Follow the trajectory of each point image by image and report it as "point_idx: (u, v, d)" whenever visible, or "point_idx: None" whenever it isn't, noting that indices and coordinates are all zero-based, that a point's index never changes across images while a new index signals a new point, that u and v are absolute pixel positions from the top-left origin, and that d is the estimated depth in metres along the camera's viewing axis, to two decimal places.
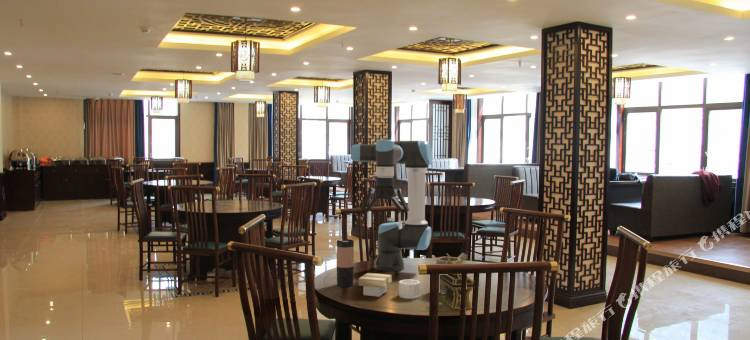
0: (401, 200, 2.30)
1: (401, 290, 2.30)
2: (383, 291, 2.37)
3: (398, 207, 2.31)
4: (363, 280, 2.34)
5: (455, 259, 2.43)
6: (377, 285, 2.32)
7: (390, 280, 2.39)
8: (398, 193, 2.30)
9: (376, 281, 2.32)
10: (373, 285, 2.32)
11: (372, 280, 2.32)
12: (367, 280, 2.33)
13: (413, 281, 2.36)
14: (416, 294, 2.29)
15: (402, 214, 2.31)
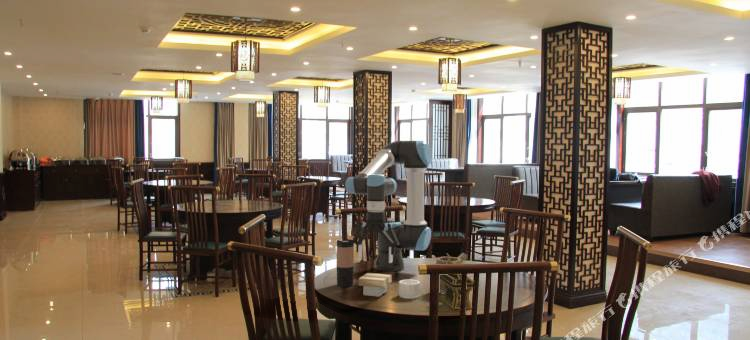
0: (391, 234, 2.33)
1: (401, 290, 2.30)
2: (383, 291, 2.37)
3: (388, 241, 2.34)
4: (363, 280, 2.34)
5: (455, 259, 2.43)
6: (377, 285, 2.32)
7: (390, 280, 2.39)
8: (388, 227, 2.33)
9: (376, 281, 2.32)
10: (373, 285, 2.32)
11: (372, 280, 2.32)
12: (367, 280, 2.33)
13: (413, 281, 2.36)
14: (416, 294, 2.29)
15: (392, 248, 2.34)
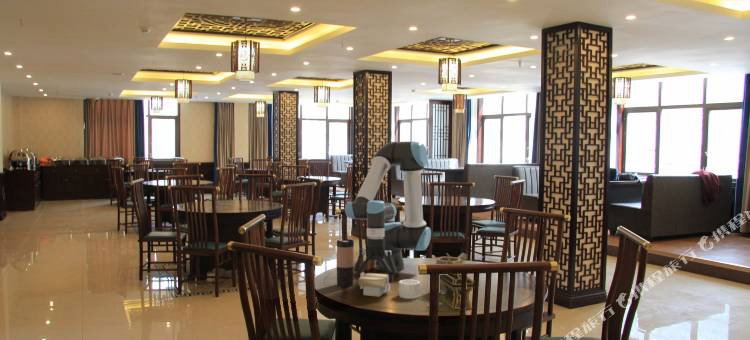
0: (390, 262, 2.34)
1: (401, 290, 2.30)
2: (383, 291, 2.37)
3: (387, 269, 2.34)
4: (363, 280, 2.34)
5: (455, 259, 2.43)
6: (377, 285, 2.32)
7: None
8: (388, 255, 2.34)
9: (376, 281, 2.32)
10: (373, 285, 2.32)
11: (372, 280, 2.32)
12: (367, 280, 2.33)
13: (413, 281, 2.36)
14: (416, 294, 2.29)
15: (390, 276, 2.35)
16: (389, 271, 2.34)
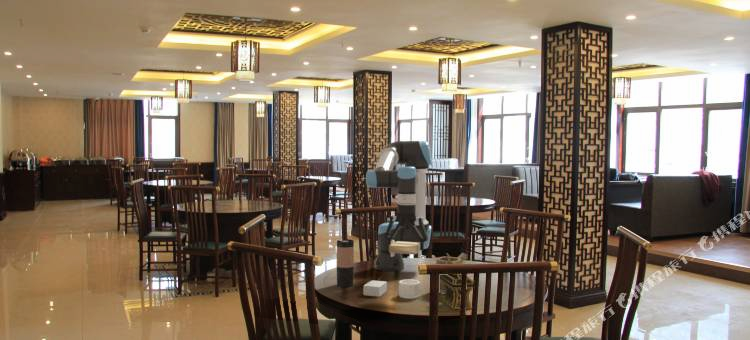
0: (422, 229, 2.29)
1: (401, 290, 2.30)
2: (383, 291, 2.37)
3: (418, 236, 2.29)
4: (394, 247, 2.28)
5: (455, 259, 2.43)
6: (408, 251, 2.26)
7: None
8: (419, 222, 2.29)
9: (407, 248, 2.26)
10: (404, 252, 2.27)
11: (403, 247, 2.27)
12: (398, 247, 2.28)
13: (413, 281, 2.36)
14: (416, 294, 2.29)
15: (422, 243, 2.29)
16: (420, 238, 2.29)
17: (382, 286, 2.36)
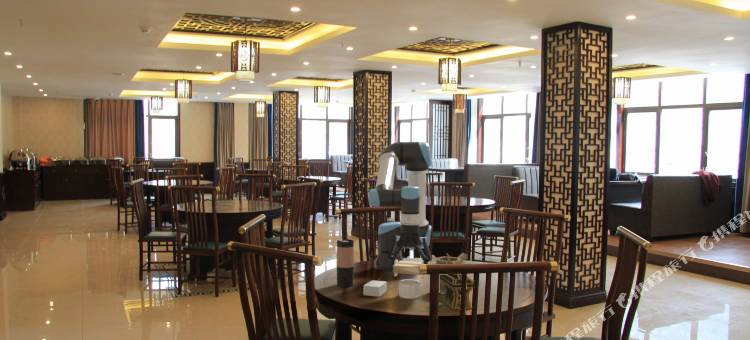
0: (426, 249, 2.29)
1: (401, 290, 2.30)
2: (383, 291, 2.37)
3: (422, 256, 2.29)
4: (398, 267, 2.28)
5: (455, 259, 2.43)
6: (412, 272, 2.26)
7: None
8: (423, 242, 2.29)
9: (411, 268, 2.26)
10: (408, 272, 2.27)
11: (407, 267, 2.27)
12: (402, 267, 2.28)
13: (413, 281, 2.36)
14: (416, 294, 2.29)
15: (425, 263, 2.29)
16: (424, 258, 2.29)
17: (382, 286, 2.36)
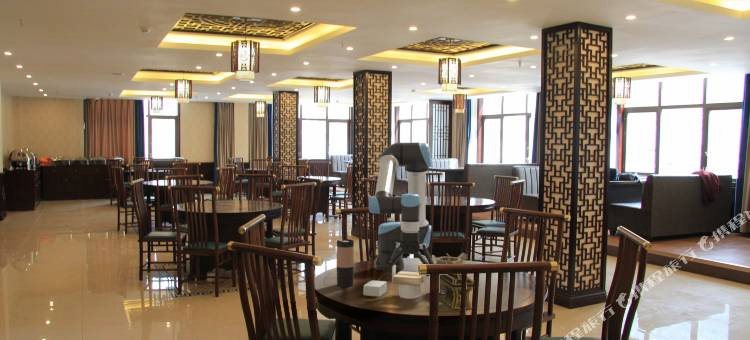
0: (427, 255, 2.29)
1: (401, 290, 2.30)
2: (383, 291, 2.37)
3: (424, 262, 2.29)
4: (398, 278, 2.29)
5: (455, 259, 2.43)
6: (412, 283, 2.27)
7: None
8: (424, 248, 2.29)
9: (411, 279, 2.27)
10: (408, 283, 2.27)
11: (407, 278, 2.27)
12: (402, 278, 2.28)
13: None
14: (416, 294, 2.29)
15: None
16: None
17: (382, 286, 2.36)
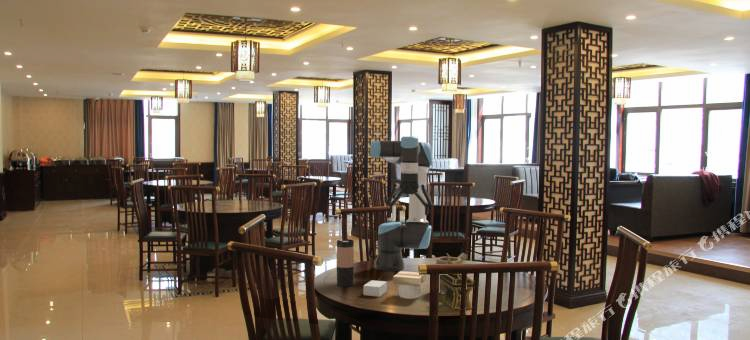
0: (425, 195, 2.38)
1: (401, 290, 2.30)
2: (383, 291, 2.37)
3: (422, 202, 2.39)
4: (398, 278, 2.29)
5: (455, 259, 2.43)
6: (412, 283, 2.27)
7: (424, 278, 2.34)
8: (422, 188, 2.39)
9: (411, 279, 2.27)
10: (408, 283, 2.27)
11: (407, 278, 2.27)
12: (402, 278, 2.28)
13: None
14: (416, 294, 2.29)
15: (426, 208, 2.39)
16: (425, 203, 2.39)
17: (382, 286, 2.36)
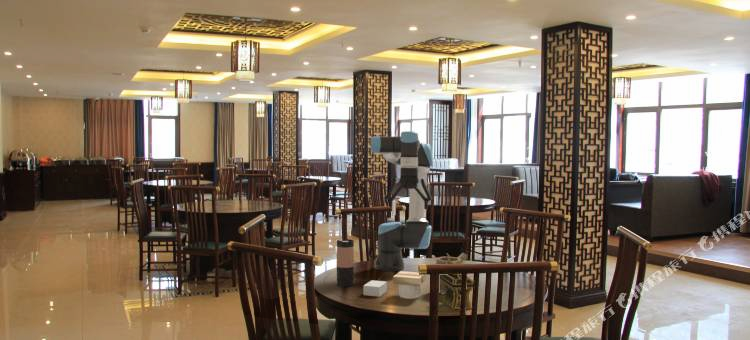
0: (425, 189, 2.40)
1: (401, 290, 2.30)
2: (383, 291, 2.37)
3: (422, 196, 2.41)
4: (398, 278, 2.29)
5: (455, 259, 2.43)
6: (412, 283, 2.27)
7: (424, 278, 2.34)
8: (422, 182, 2.41)
9: (411, 279, 2.27)
10: (408, 283, 2.27)
11: (407, 278, 2.27)
12: (402, 278, 2.28)
13: None
14: (416, 294, 2.29)
15: (426, 203, 2.41)
16: (424, 197, 2.40)
17: (382, 286, 2.36)
